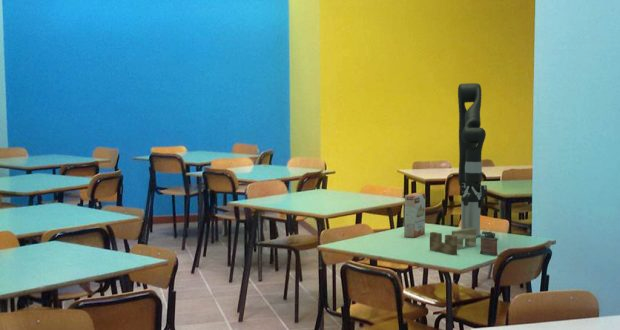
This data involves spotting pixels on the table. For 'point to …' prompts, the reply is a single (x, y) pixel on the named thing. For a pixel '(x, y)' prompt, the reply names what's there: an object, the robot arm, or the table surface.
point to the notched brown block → (439, 246)
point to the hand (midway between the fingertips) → (473, 206)
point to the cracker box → (414, 215)
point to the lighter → (488, 244)
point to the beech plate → (465, 237)
